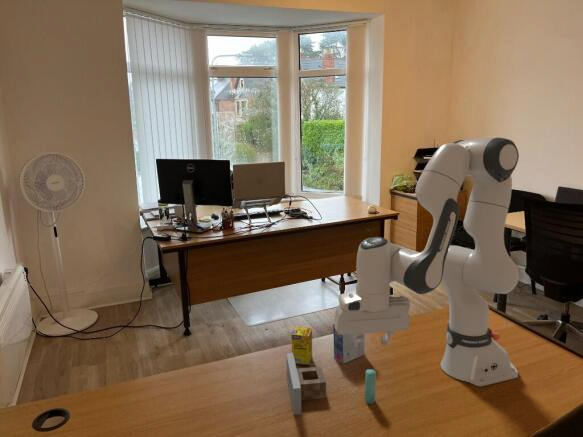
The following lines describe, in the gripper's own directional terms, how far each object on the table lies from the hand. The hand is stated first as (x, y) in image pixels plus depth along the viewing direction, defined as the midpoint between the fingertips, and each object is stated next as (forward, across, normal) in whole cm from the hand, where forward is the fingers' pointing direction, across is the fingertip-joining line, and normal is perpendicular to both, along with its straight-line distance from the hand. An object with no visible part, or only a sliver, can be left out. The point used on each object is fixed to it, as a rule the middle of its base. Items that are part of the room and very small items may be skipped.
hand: (371, 345), depth 118 cm
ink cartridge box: (+17, 0, -24) cm, 30 cm away
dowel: (+17, 0, 0) cm, 17 cm away
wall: (+17, +21, -6) cm, 28 cm away
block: (+17, +16, -7) cm, 24 cm away
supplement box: (+17, +16, -23) cm, 33 cm away
